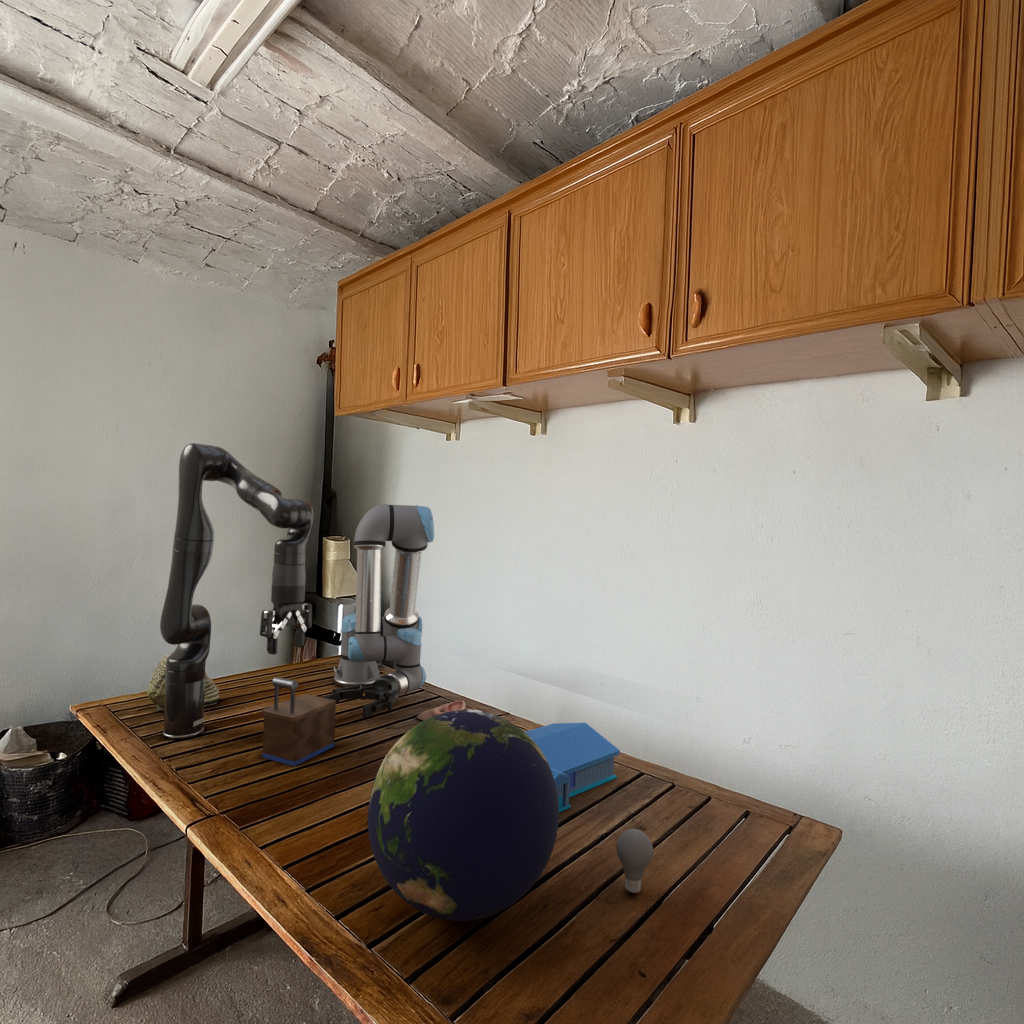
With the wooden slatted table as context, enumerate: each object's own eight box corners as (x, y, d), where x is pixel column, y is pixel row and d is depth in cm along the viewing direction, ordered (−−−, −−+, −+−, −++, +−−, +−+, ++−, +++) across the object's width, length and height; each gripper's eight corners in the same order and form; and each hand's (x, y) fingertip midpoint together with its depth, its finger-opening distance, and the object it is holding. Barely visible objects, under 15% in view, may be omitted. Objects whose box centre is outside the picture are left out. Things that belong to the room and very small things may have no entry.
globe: (322, 932, 92) (330, 728, 92) (425, 835, 120) (432, 678, 119) (512, 1001, 81) (522, 769, 81) (577, 877, 109) (585, 703, 108)
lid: (293, 721, 147) (294, 684, 147) (261, 713, 151) (262, 677, 151) (335, 704, 160) (337, 670, 160) (305, 697, 165) (306, 664, 165)
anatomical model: (413, 707, 181) (426, 695, 192) (412, 720, 181) (426, 708, 192) (457, 712, 178) (468, 699, 189) (457, 726, 178) (468, 713, 189)
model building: (501, 837, 120) (504, 785, 120) (427, 790, 139) (429, 744, 138) (628, 782, 147) (630, 739, 147) (552, 748, 165) (553, 710, 165)
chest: (294, 766, 148) (296, 720, 148) (262, 757, 152) (263, 713, 152) (334, 746, 161) (335, 704, 160) (303, 738, 165) (305, 697, 165)
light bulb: (610, 879, 108) (613, 822, 108) (644, 879, 109) (647, 822, 109) (619, 902, 102) (622, 840, 102) (655, 901, 103) (658, 840, 103)
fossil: (144, 707, 182) (145, 655, 182) (212, 696, 194) (213, 647, 194) (151, 716, 175) (153, 662, 175) (221, 703, 188) (223, 653, 188)
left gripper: (277, 587, 142) (275, 659, 143) (321, 581, 155) (319, 646, 156) (253, 584, 146) (250, 654, 146) (298, 578, 159) (295, 642, 159)
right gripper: (424, 707, 184) (381, 730, 165) (355, 693, 194) (306, 713, 175) (425, 681, 184) (382, 701, 164) (356, 668, 194) (307, 685, 175)
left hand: (286, 650), depth 151 cm, fingers open, 8 cm apart
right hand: (342, 707), depth 170 cm, fingers open, 13 cm apart
